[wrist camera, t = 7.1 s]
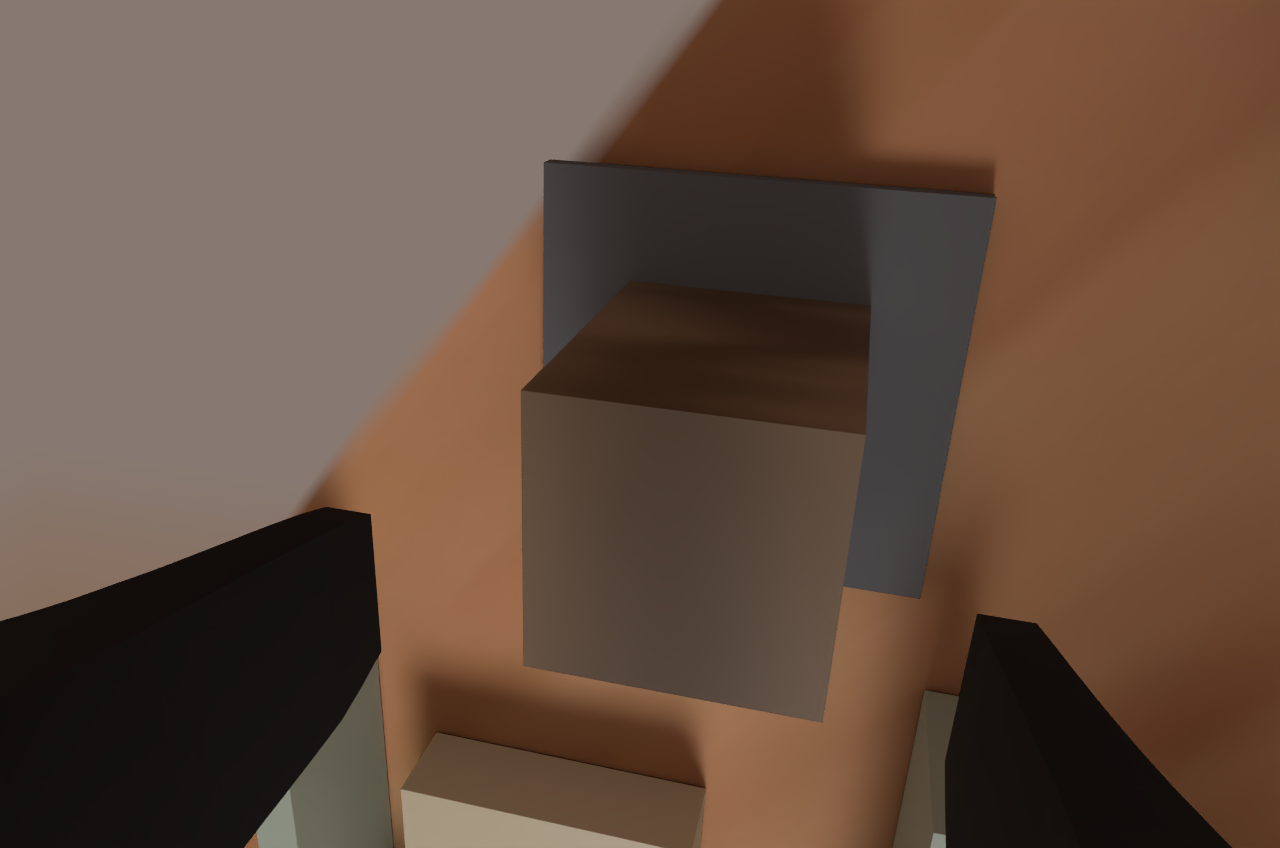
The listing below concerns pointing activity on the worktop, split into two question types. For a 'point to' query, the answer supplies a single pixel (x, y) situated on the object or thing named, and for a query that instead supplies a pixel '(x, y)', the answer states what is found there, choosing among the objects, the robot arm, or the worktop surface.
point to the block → (695, 494)
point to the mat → (809, 269)
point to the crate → (534, 794)
